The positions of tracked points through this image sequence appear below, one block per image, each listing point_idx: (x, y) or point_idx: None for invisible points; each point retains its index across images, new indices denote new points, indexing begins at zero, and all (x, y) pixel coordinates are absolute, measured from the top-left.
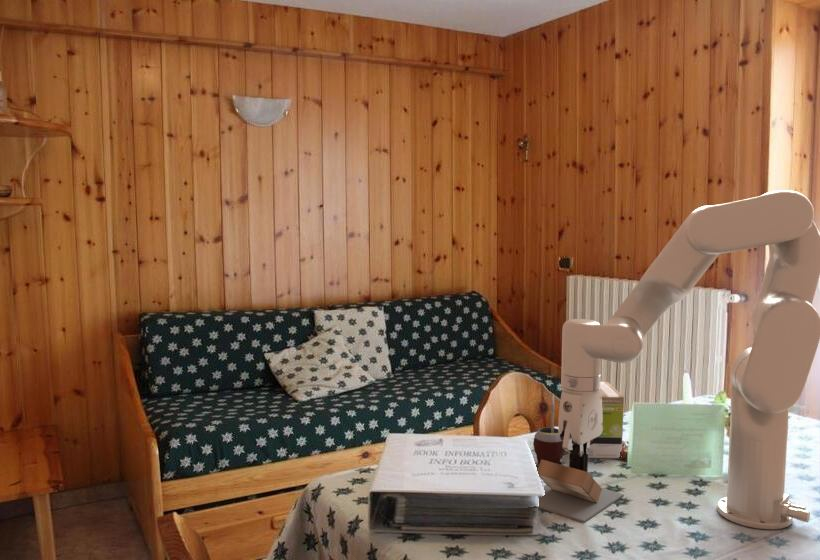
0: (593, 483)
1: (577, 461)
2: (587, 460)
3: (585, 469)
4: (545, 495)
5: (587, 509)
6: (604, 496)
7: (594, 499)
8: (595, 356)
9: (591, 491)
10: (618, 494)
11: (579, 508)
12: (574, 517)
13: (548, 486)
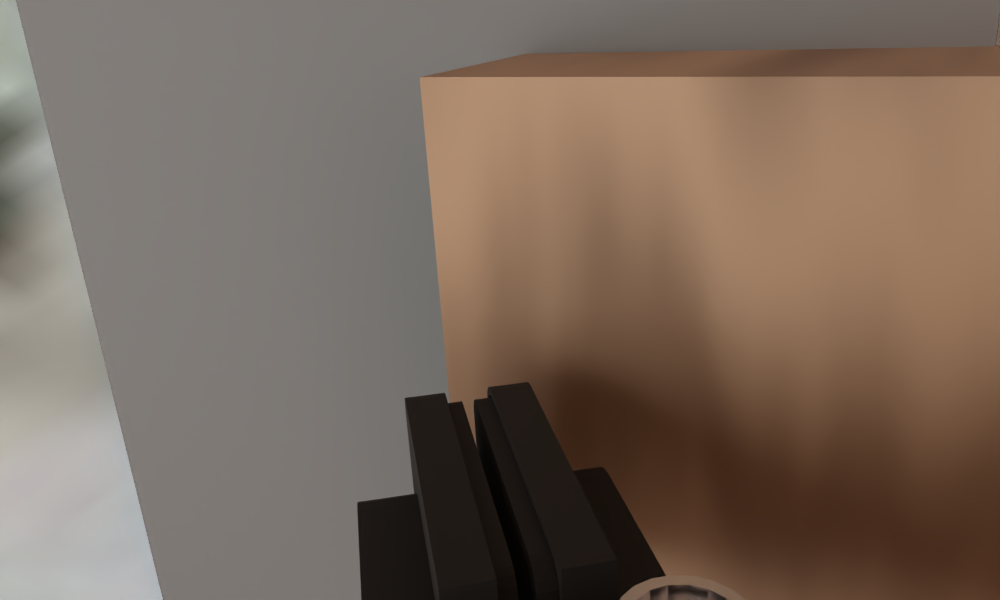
0: (745, 68)
1: (646, 562)
2: (433, 503)
3: (460, 424)
4: None
5: (747, 35)
6: (282, 102)
7: (610, 53)
8: None
9: (752, 55)
10: (76, 4)
11: None
12: (997, 22)
13: None
